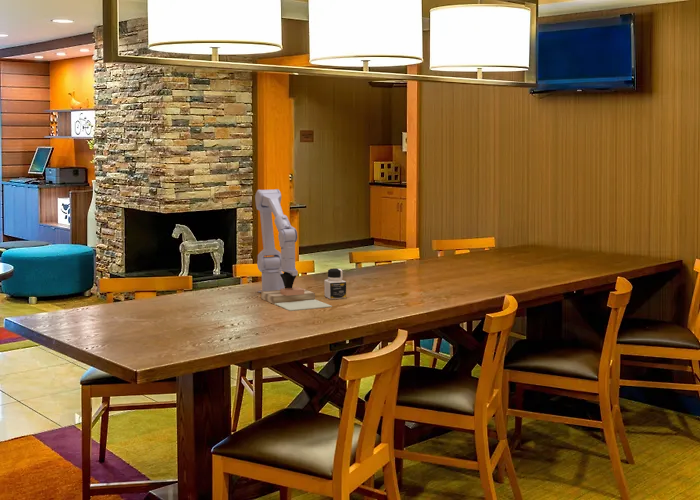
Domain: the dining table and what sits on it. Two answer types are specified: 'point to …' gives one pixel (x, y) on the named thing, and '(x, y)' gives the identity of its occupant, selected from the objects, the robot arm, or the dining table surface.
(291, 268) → the robot arm
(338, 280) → the medicine bottle
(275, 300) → the block
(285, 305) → the mat
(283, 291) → the block
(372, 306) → the dining table surface
